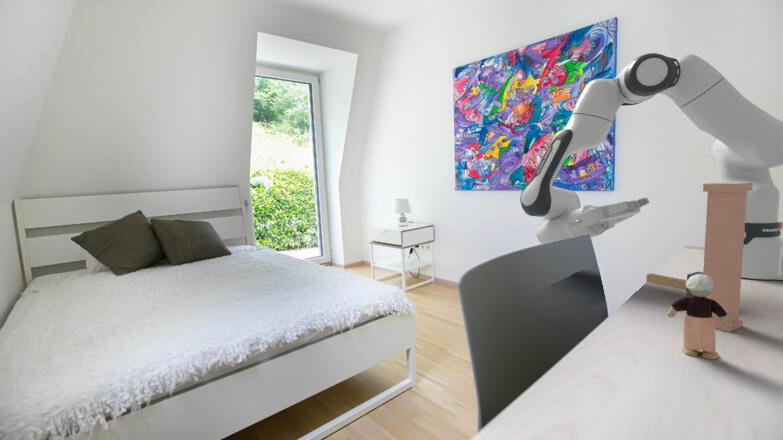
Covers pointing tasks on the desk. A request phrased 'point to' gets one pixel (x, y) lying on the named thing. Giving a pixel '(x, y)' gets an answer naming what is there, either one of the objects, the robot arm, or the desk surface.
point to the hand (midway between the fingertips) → (637, 202)
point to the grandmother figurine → (699, 317)
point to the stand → (725, 246)
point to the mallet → (671, 281)
